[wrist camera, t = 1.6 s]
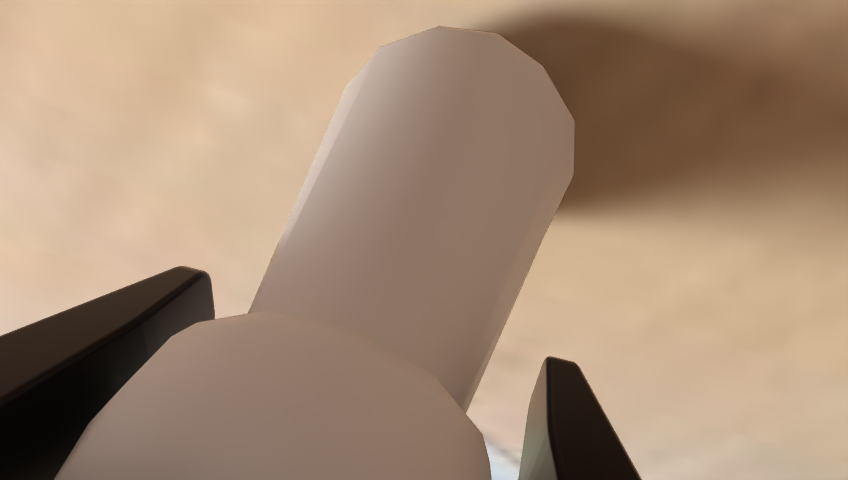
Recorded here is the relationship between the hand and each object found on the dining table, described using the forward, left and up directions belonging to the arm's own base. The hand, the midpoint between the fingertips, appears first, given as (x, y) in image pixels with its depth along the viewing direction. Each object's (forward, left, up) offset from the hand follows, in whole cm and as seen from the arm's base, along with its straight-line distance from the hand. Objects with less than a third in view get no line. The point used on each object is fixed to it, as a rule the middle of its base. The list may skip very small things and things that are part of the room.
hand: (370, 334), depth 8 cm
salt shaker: (0, 0, -9) cm, 9 cm away
